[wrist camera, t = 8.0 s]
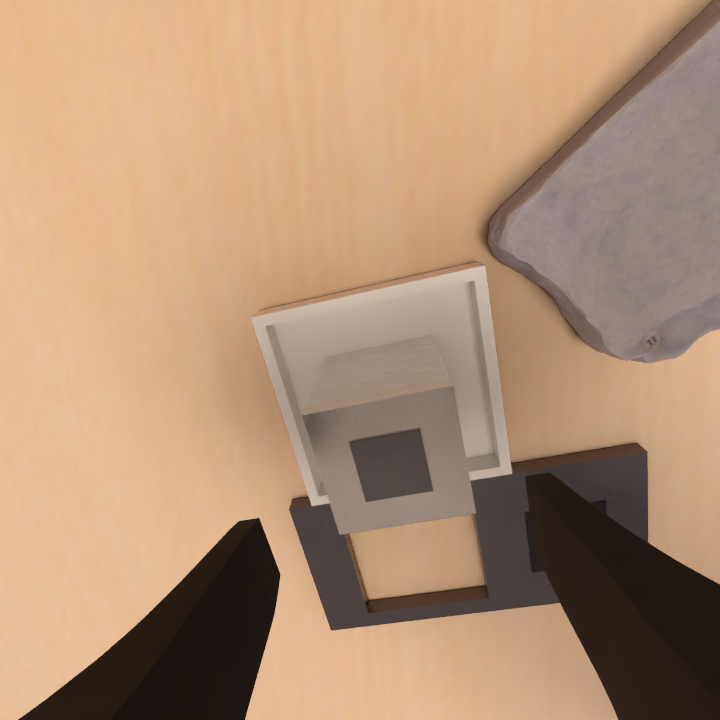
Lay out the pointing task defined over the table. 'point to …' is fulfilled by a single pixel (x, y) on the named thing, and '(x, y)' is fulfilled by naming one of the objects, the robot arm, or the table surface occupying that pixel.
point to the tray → (387, 325)
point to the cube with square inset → (388, 437)
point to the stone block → (632, 209)
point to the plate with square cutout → (479, 540)
